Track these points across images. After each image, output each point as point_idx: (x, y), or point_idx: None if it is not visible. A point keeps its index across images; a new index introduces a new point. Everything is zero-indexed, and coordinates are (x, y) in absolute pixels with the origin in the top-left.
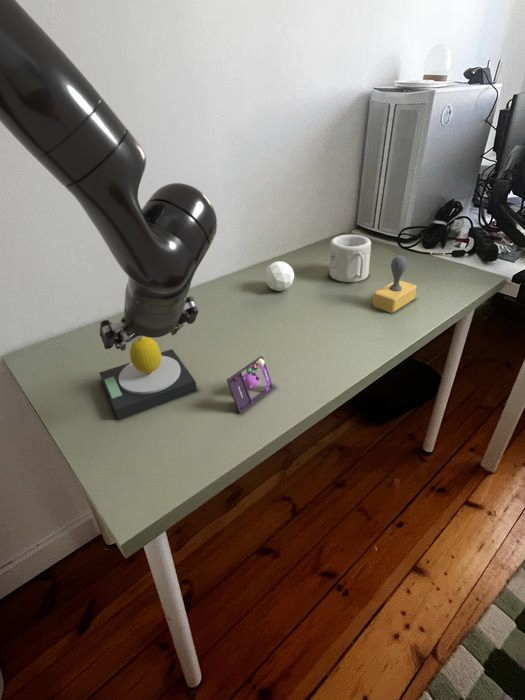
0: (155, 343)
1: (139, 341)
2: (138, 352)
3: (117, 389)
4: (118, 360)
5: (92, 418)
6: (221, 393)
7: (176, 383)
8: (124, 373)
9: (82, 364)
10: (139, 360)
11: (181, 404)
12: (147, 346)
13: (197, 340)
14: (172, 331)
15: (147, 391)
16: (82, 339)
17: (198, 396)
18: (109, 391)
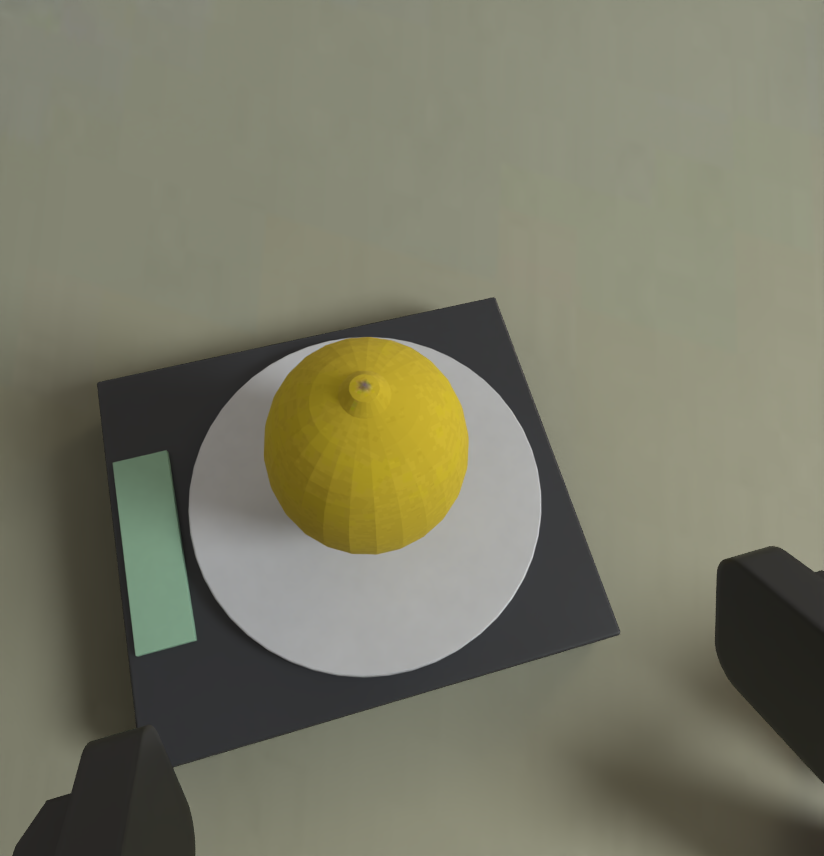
0: (456, 424)
1: (344, 420)
2: (325, 499)
3: (174, 582)
4: (214, 262)
5: (33, 704)
6: (730, 706)
7: (512, 625)
8: (226, 451)
9: (41, 240)
10: (323, 533)
11: (512, 736)
12: (400, 473)
13: (603, 225)
14: (787, 726)
15: (344, 674)
16: (65, 60)
17: (605, 692)
18: (128, 585)
